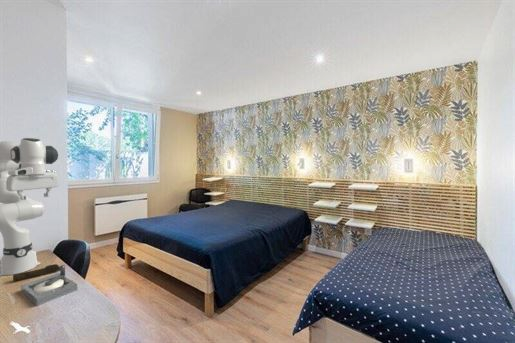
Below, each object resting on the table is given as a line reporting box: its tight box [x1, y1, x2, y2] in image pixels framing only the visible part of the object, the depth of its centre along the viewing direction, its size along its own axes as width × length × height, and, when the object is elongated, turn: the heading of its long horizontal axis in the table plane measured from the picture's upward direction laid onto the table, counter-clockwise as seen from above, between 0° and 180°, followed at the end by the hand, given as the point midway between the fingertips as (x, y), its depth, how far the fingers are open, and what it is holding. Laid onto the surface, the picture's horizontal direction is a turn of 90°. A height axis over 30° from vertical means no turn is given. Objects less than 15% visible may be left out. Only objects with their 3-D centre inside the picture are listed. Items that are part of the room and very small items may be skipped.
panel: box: [20, 272, 78, 307], centre depth 119 cm, size 22×16×3 cm
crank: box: [34, 264, 66, 295], centre depth 120 cm, size 11×14×8 cm
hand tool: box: [12, 263, 60, 283], centre depth 134 cm, size 19×4×5 cm, turn 127°
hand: (35, 198), depth 123 cm, fingers open, 8 cm apart
